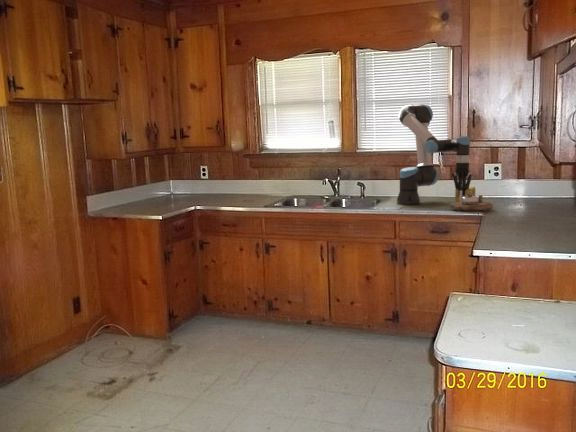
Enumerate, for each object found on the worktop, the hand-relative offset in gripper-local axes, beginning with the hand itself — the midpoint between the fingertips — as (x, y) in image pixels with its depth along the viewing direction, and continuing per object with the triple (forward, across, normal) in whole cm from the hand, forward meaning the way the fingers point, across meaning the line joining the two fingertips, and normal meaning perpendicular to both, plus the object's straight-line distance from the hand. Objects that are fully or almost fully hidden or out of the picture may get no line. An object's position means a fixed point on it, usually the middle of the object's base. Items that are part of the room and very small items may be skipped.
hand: (461, 200), depth 336 cm
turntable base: (+5, +6, 0) cm, 8 cm away
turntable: (+3, +7, 0) cm, 7 cm away
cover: (+2, +5, 0) cm, 5 cm away
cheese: (+5, -11, +24) cm, 27 cm away
